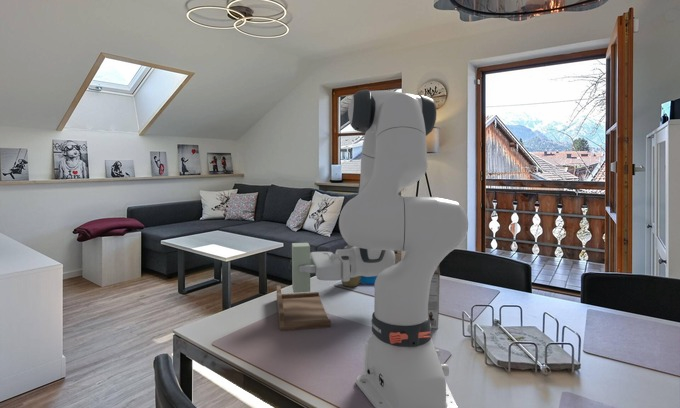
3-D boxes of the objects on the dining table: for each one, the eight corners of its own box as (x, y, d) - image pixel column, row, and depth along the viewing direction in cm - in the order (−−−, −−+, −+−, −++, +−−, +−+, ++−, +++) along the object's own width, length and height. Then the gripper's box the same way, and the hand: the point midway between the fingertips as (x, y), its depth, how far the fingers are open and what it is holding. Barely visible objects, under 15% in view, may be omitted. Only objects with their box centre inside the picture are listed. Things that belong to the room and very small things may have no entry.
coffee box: (415, 315, 121) (417, 262, 119) (437, 316, 120) (439, 264, 118) (415, 327, 112) (416, 271, 110) (438, 329, 111) (440, 272, 109)
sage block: (310, 291, 121) (309, 246, 119) (293, 292, 120) (292, 246, 118) (308, 286, 125) (308, 242, 124) (292, 287, 124) (291, 243, 123)
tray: (330, 326, 112) (330, 309, 112) (279, 330, 110) (279, 313, 109) (318, 297, 137) (318, 282, 136) (276, 299, 134) (276, 285, 133)
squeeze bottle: (347, 280, 156) (347, 234, 154) (365, 284, 151) (365, 237, 149) (335, 285, 149) (335, 237, 147) (353, 289, 145) (353, 240, 143)
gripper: (336, 246, 134) (295, 247, 131) (349, 261, 114) (300, 264, 111) (336, 264, 135) (295, 266, 132) (349, 283, 115) (301, 286, 112)
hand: (298, 265), depth 121 cm, fingers closed on sage block, 5 cm apart
